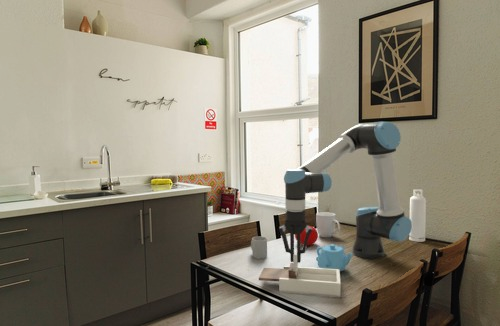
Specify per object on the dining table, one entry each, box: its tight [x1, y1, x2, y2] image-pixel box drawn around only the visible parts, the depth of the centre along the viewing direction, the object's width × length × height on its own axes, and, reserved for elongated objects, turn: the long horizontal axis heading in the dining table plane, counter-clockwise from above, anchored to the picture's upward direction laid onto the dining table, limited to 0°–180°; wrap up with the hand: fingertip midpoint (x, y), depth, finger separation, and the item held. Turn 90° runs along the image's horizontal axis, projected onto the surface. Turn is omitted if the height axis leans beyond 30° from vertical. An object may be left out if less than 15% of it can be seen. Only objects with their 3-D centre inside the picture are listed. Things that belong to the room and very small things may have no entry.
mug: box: [315, 211, 341, 238], centre depth 203 cm, size 15×11×13 cm
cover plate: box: [258, 262, 298, 283], centre depth 136 cm, size 14×11×4 cm
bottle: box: [408, 188, 427, 243], centre depth 194 cm, size 8×8×28 cm
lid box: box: [278, 265, 342, 298], centre depth 134 cm, size 22×14×5 cm, turn 77°
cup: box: [250, 236, 268, 260], centre depth 171 cm, size 7×10×9 cm
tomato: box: [294, 224, 319, 246], centre depth 188 cm, size 11×12×10 cm
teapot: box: [316, 243, 354, 272], centre depth 150 cm, size 15×14×11 cm
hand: (295, 270), depth 135 cm, fingers closed
